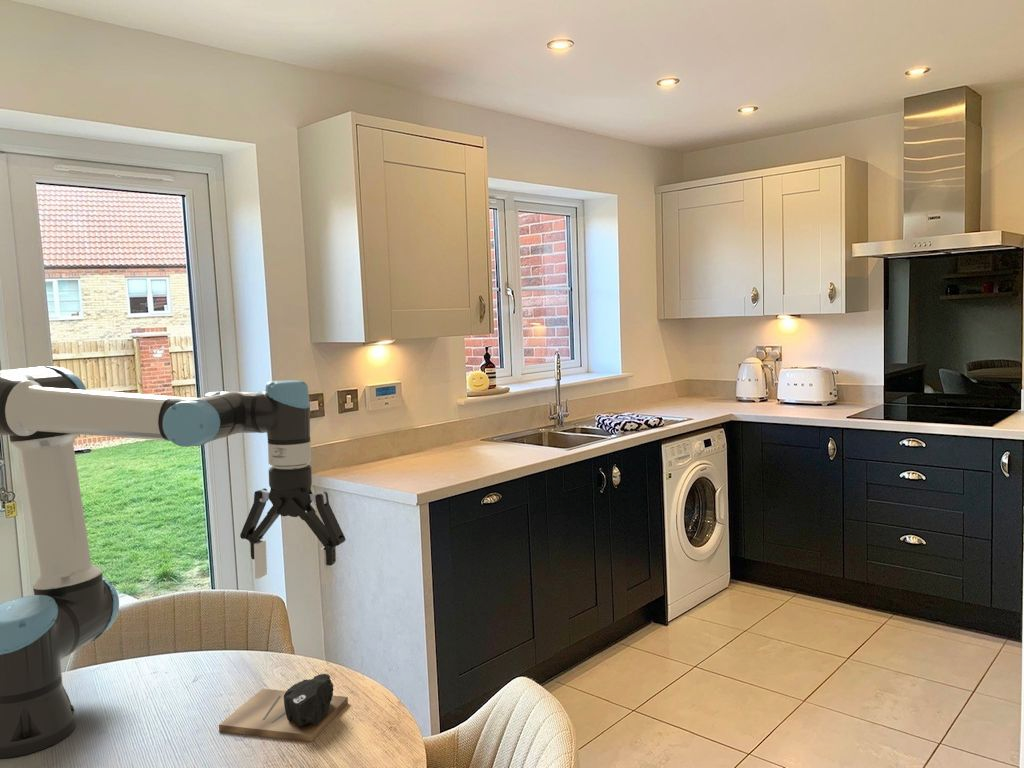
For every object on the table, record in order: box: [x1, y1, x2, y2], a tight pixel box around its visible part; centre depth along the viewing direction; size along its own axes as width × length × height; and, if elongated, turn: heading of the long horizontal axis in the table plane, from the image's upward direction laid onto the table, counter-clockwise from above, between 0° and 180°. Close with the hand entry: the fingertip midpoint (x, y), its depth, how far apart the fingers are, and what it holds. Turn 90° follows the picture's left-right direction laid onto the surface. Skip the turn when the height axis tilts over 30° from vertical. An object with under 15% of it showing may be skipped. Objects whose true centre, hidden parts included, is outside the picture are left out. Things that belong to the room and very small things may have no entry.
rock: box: [284, 673, 334, 726], centre depth 141 cm, size 9×10×6 cm
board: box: [218, 688, 349, 743], centre depth 144 cm, size 18×14×1 cm
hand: (293, 579), depth 145 cm, fingers open, 13 cm apart
